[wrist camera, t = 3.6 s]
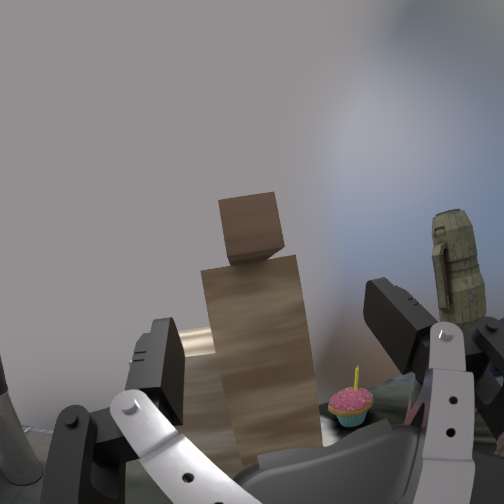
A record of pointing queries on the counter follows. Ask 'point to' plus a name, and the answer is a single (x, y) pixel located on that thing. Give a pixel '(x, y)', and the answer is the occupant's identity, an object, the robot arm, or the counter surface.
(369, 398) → the cupcake
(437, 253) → the thermos
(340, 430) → the counter surface
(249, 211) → the walnut bar
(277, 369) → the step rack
